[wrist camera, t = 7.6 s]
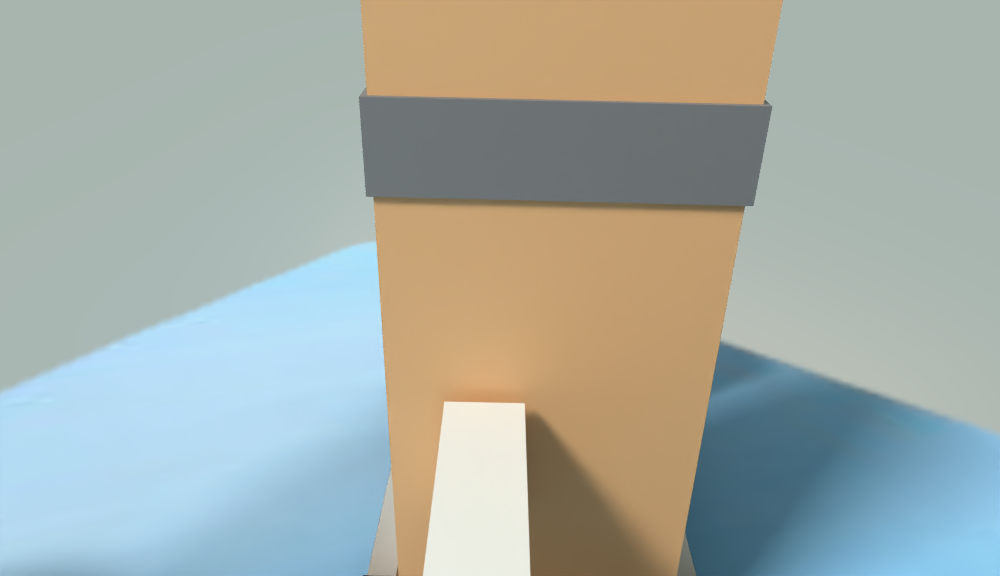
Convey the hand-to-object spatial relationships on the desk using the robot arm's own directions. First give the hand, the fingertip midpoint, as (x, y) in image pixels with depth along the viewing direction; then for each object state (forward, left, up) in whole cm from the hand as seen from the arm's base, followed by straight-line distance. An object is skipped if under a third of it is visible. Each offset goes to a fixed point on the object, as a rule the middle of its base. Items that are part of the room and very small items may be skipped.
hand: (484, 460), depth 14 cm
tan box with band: (0, -3, -6) cm, 7 cm away
